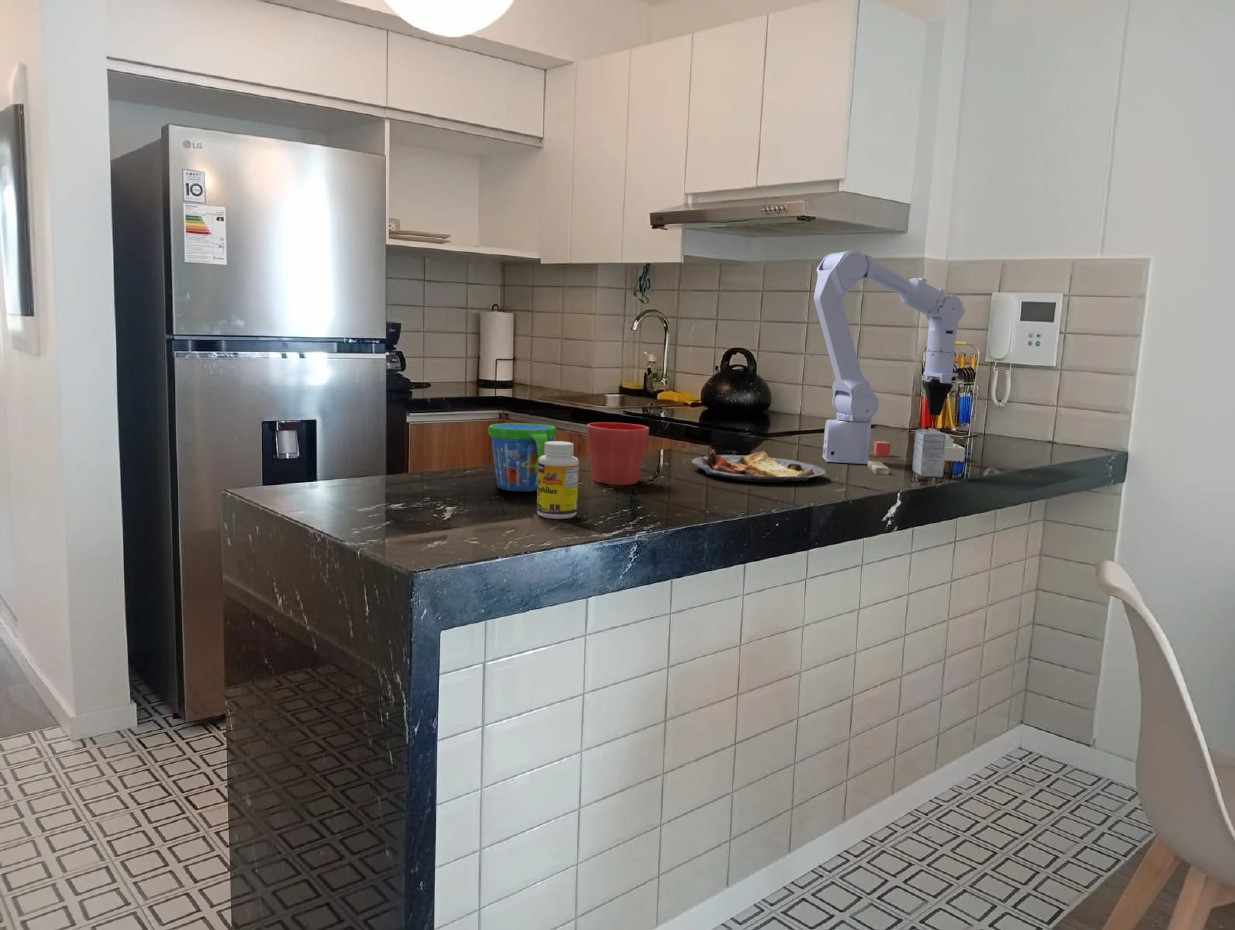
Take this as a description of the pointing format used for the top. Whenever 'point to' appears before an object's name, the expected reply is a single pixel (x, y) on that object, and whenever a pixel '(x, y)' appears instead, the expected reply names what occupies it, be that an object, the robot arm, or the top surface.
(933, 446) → the medicine box
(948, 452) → the white square frame
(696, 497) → the top surface
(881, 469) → the game track
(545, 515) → the supplement bottle
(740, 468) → the food plate
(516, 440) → the snack cup
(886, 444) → the red die
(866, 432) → the robot arm
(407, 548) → the top surface
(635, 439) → the flower pot
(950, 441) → the pale green ball
